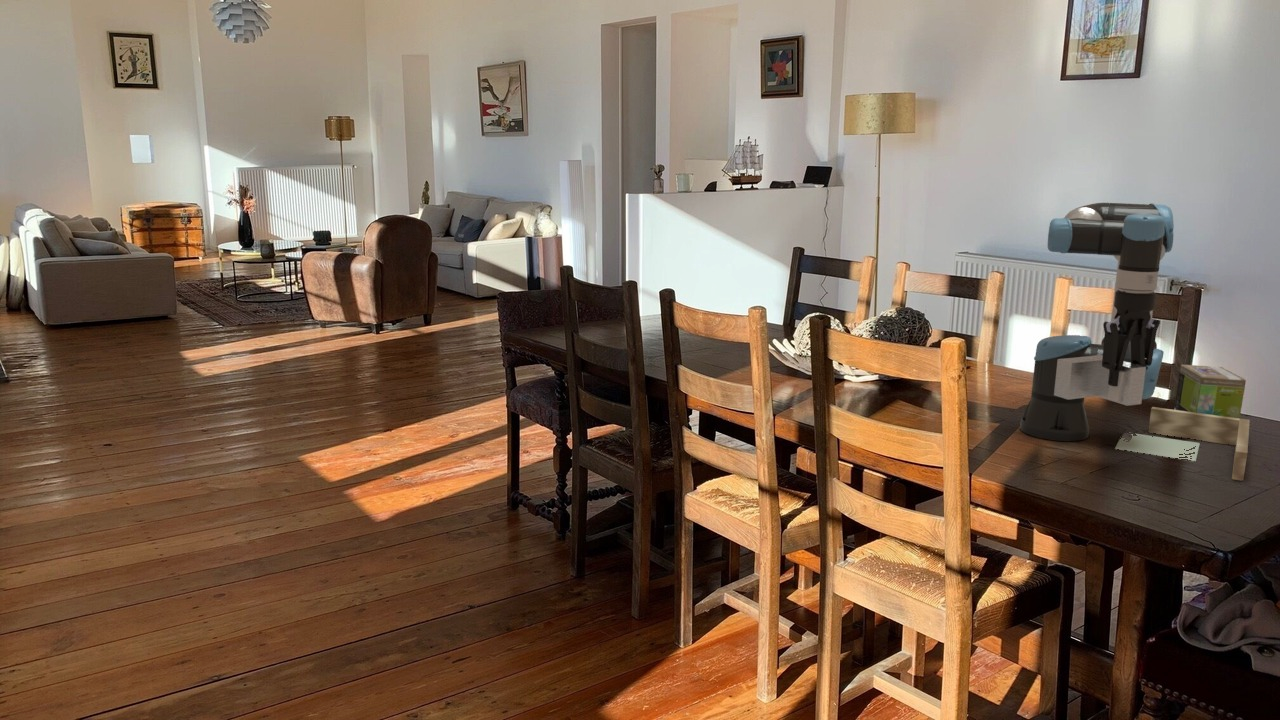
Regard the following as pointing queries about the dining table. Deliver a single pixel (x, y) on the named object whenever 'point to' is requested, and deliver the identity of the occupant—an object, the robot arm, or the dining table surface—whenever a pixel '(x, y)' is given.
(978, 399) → the dining table surface
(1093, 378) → the bracket
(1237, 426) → the wooden corner fence
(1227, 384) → the tea box
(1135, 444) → the mat
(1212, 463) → the dining table surface
